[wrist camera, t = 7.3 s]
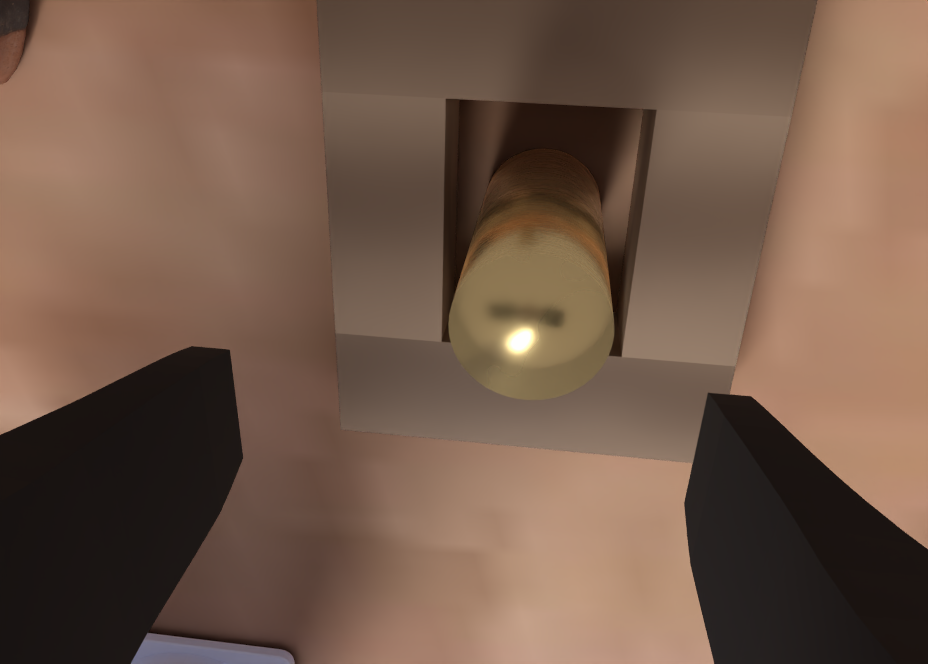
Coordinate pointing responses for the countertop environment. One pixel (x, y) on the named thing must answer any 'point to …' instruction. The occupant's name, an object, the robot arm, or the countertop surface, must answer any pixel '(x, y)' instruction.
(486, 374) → the pin
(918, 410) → the countertop surface
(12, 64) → the pottery mug
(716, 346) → the slot block
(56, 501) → the robot arm
